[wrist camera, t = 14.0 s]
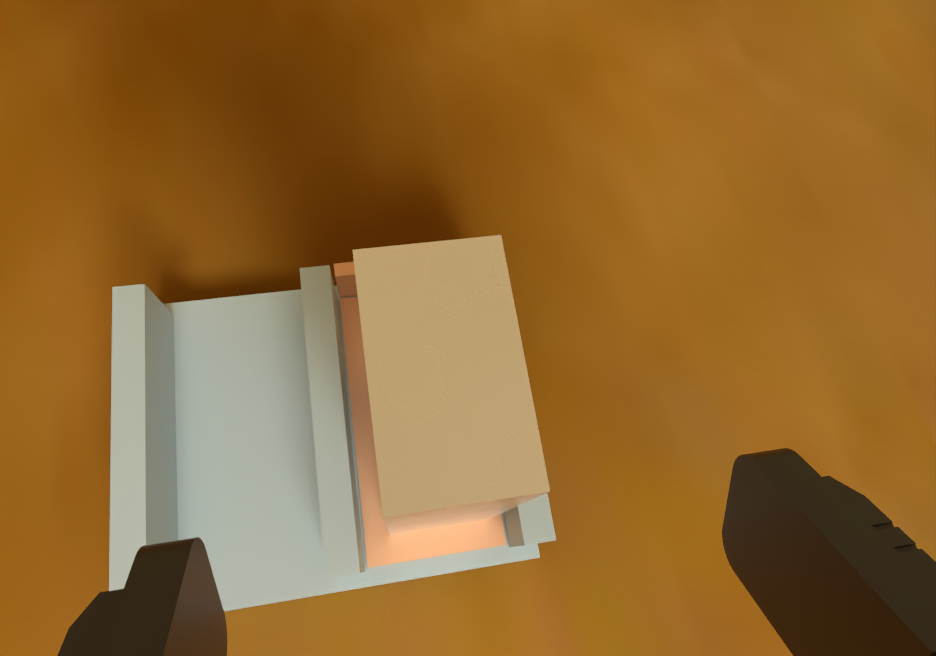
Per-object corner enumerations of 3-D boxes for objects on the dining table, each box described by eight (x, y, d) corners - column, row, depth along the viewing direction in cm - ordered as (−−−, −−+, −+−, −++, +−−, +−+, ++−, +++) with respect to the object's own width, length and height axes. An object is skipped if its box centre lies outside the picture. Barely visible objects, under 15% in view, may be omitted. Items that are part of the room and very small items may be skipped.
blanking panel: (489, 518, 23) (550, 491, 14) (389, 535, 23) (382, 517, 13) (463, 356, 25) (501, 234, 16) (370, 367, 25) (352, 250, 15)
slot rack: (533, 557, 24) (559, 557, 20) (159, 621, 22) (108, 634, 19) (484, 281, 28) (498, 234, 24) (156, 316, 26) (112, 272, 22)
